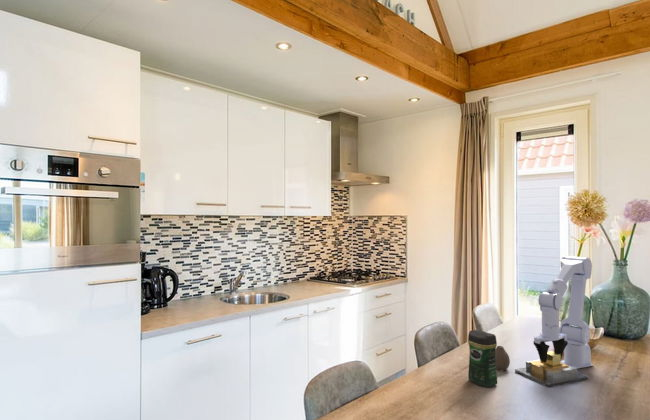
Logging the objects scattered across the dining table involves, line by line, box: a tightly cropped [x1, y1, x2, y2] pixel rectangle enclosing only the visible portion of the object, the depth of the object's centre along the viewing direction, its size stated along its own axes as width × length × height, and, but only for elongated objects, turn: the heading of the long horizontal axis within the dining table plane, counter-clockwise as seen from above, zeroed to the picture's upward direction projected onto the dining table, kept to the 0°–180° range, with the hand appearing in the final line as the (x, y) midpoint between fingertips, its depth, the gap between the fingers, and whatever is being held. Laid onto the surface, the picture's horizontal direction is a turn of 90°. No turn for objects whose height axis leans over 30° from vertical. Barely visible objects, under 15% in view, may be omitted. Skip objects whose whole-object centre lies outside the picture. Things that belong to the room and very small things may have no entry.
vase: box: [495, 345, 511, 372], centre depth 159 cm, size 7×7×9 cm
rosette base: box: [514, 358, 589, 388], centre depth 152 cm, size 20×15×5 cm
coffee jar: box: [467, 329, 498, 388], centre depth 146 cm, size 10×8×19 cm
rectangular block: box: [543, 350, 562, 367], centre depth 152 cm, size 4×4×8 cm
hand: (550, 360), depth 152 cm, fingers open, 7 cm apart
